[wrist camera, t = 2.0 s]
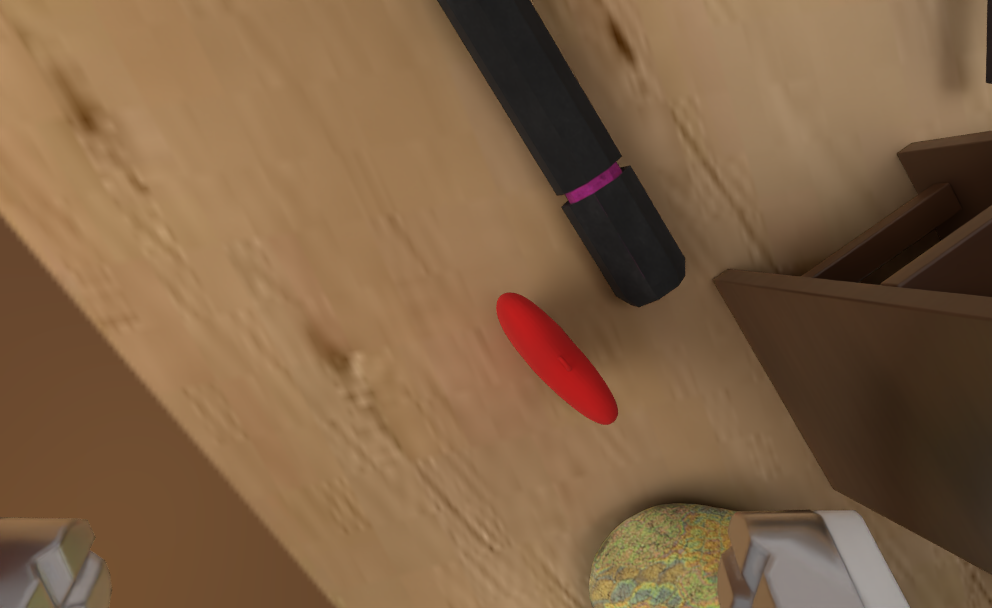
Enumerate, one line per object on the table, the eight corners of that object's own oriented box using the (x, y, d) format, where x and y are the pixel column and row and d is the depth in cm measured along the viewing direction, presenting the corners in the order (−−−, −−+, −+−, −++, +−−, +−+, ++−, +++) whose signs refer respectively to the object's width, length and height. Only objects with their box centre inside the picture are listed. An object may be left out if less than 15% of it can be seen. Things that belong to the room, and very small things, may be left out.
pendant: (592, 380, 29) (641, 412, 24) (562, 409, 29) (604, 446, 24) (498, 272, 28) (529, 281, 23) (466, 301, 28) (490, 316, 23)
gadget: (301, -244, 23) (644, 319, 27) (374, -286, 23) (704, 277, 27) (306, -198, 26) (620, 311, 29) (372, -236, 26) (675, 273, 29)
